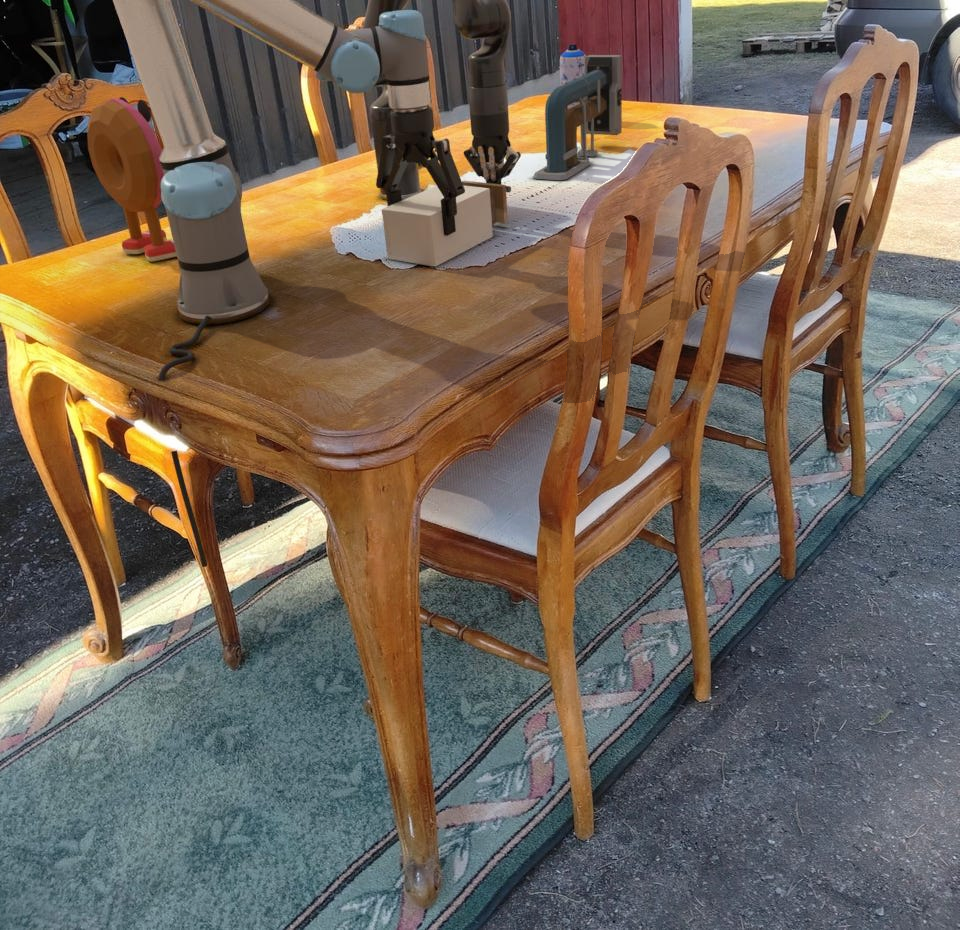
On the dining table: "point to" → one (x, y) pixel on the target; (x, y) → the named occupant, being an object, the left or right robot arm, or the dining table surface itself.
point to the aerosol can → (572, 66)
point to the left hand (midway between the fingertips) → (423, 229)
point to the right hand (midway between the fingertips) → (494, 198)
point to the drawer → (495, 199)
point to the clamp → (582, 116)
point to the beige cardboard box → (436, 226)
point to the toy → (130, 171)
